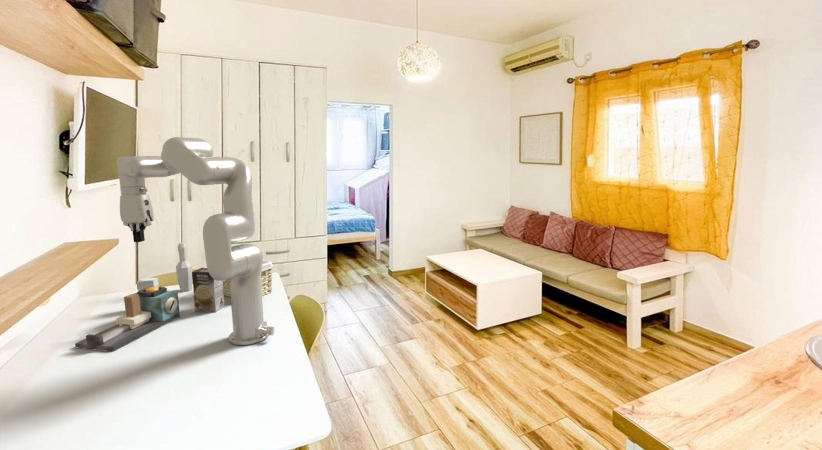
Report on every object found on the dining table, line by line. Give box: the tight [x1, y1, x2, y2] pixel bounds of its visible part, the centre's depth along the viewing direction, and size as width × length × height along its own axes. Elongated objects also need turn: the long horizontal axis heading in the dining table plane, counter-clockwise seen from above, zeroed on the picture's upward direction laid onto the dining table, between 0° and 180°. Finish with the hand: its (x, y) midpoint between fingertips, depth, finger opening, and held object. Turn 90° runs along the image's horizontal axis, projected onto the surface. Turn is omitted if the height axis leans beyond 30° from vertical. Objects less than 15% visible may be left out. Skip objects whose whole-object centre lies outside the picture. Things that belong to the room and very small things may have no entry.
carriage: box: [115, 293, 151, 329], centre depth 138 cm, size 7×7×10 cm
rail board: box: [74, 286, 181, 352], centre depth 137 cm, size 15×28×12 cm, turn 170°
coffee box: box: [192, 267, 225, 313], centre depth 156 cm, size 9×6×16 cm
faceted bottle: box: [175, 242, 193, 293], centre depth 179 cm, size 6×6×22 cm
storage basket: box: [223, 259, 274, 298], centre depth 175 cm, size 24×16×15 cm
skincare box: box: [136, 277, 160, 292], centre depth 158 cm, size 6×4×12 cm
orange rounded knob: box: [145, 287, 159, 292], centre depth 145 cm, size 4×4×2 cm
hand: (139, 241), depth 145 cm, fingers closed
